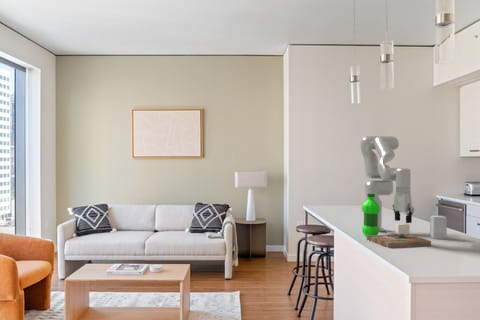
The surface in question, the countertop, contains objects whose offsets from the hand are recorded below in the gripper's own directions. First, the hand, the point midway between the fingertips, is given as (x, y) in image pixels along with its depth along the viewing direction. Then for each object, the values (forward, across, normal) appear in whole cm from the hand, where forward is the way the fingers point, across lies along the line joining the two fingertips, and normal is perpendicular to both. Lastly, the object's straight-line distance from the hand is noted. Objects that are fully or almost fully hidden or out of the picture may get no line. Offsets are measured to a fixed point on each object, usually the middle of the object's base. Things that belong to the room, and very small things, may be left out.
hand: (403, 221), depth 227 cm
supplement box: (+11, -6, +28) cm, 31 cm away
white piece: (+8, -1, -3) cm, 9 cm away
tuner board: (+11, +1, -4) cm, 12 cm away
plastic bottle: (+11, -18, -9) cm, 23 cm away
